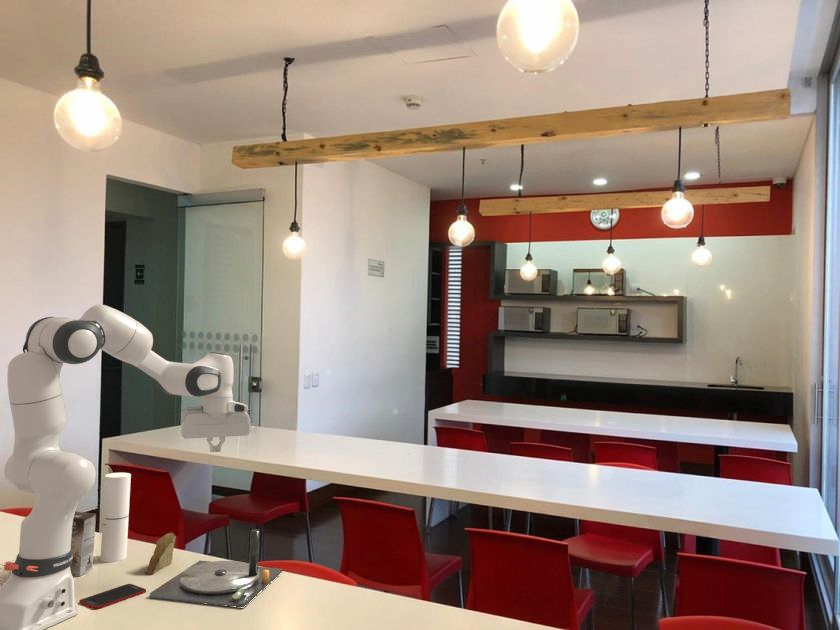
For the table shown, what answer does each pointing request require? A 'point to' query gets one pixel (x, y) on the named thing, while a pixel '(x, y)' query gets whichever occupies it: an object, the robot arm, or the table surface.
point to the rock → (162, 553)
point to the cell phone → (112, 596)
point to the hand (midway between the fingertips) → (215, 451)
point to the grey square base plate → (238, 598)
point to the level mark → (265, 576)
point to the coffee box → (82, 542)
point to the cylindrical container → (115, 517)
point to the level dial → (223, 573)
